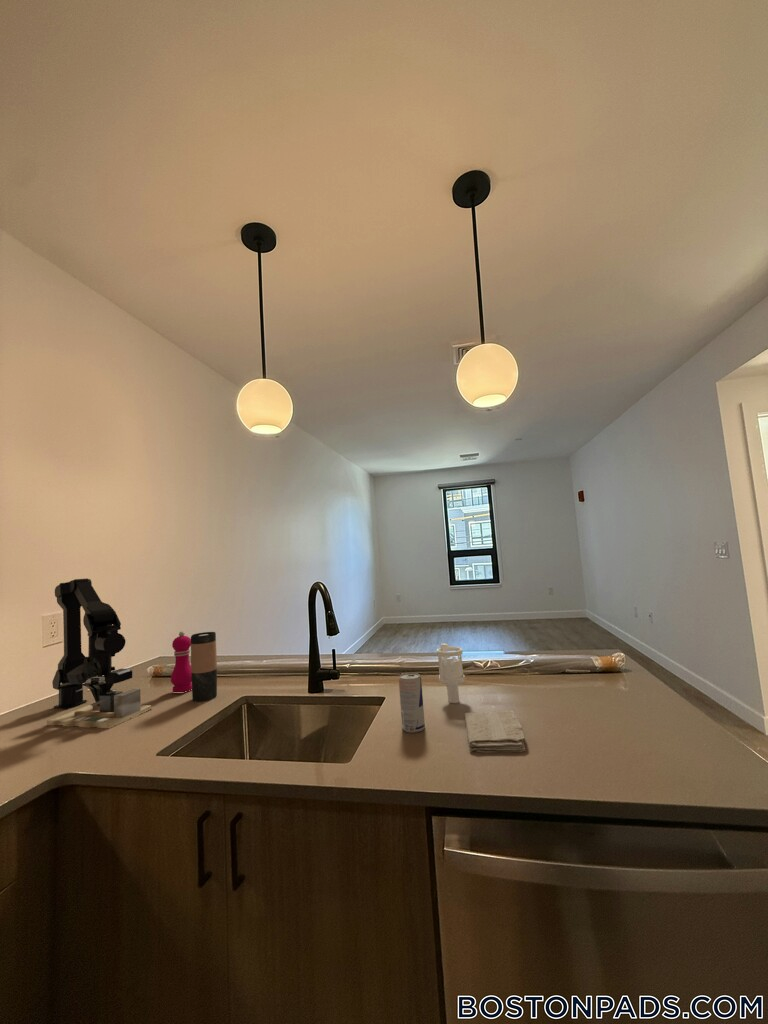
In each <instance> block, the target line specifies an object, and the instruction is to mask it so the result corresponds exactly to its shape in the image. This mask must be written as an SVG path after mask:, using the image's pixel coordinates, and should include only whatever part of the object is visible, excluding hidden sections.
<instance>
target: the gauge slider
mask: <svg viewBox="0 0 768 1024" xmlns="http://www.w3.org/2000/svg"><path fill="white" fill-rule="evenodd" d="M123 692H124V691H121V690H120V691H119V690H118V691H117V689H114V688H113V689H110V690H109V691H106V694H103V695H100V701H98V702H93V703H91V704H89V705H90V706H94V705H97V704H100V712H114V695H117V694H120V693H123Z"/></svg>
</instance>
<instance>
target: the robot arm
mask: <svg viewBox="0 0 768 1024" xmlns="http://www.w3.org/2000/svg"><path fill="white" fill-rule="evenodd" d="M96 591H97V590H95V589H94V586H93V585H92V579H91V578H75V579H72V580H70V581H67V582H60V583H59V584H57V586H55V589H54V596H55V598H56V603H57V604H58V606H59V607H60V608H61V609H62V611H63V615H62V616H63V626H62V627H63V656H62V657H61V659H60V660H59V662H58V664H57V670H56V671H55V673H54V676H53V679H52V688H53V690H56V691H58V704H57V705H54V706H53V708H54V709H70V708H73V707H76V706H78V705H81V704H84V703H86V702H88V700H87V699H84V687H86V688H87V689H89V691H90V692H91V694H92V696H93V699H94V700H95V701H94V703H96V702H98V701H100V695H103V694H106V691H109V690H112V688H113V686H114V684H118V683H122V682H125V681H127V680H130V679H133V670H132V669H131V668H119V669H116V666H112V665H113V664H112V660H113V659H112V658H113V657H116V654H118V653H120V652H121V651H123V649H124V647H125V646H126V639H125V638H126V637H124V635H123V634H121V633H119V631H120V630H121V627H122V626H121V625H122V623H121V621H120V619H119V617H118V614H117V612H116V611H115V609H114V608H113V607H112V606H111V605H110V604H109V603H106V602H103V601H102V600H101V598H100V597H99V595H98V593H97V592H96ZM81 608H82V609H83V610H84V615H83V619H81V614H82V613H81ZM81 622H83V626H84V627H85V629H86V631H87V636H88V652H87V653H88V656H85V654H83V652H82V623H81ZM97 706H99V707H100V704H97Z"/></svg>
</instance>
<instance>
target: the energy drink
mask: <svg viewBox="0 0 768 1024" xmlns="http://www.w3.org/2000/svg"><path fill="white" fill-rule="evenodd" d="M422 684H423V683H422V677H421V675H420V674H419V673H417V672H407V673H402V674H400V675H399V678H398V688H399V699H400V700H399V703H400V716H401V727H402V730H403V731H404V732H406V733H409V734H411V733H412V734H416V733H419V732H422V731H423V730H424V729H425V728H426V726H425V725H426V724H425V723H426V722H425V713H424V712H425V711H424V709H425V708H424V698H423V686H422Z"/></svg>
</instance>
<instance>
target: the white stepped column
mask: <svg viewBox="0 0 768 1024" xmlns="http://www.w3.org/2000/svg"><path fill="white" fill-rule="evenodd" d="M436 655H437V658H438V659H437V661H438V671H439V672H438V674H439V676H438V682H439V683H440V684H444V685H446V690H447V691H446V692H447V702H448V703H449V704H458V703H459V702H460V695H459V694H460V693H459V684H462V683H464V682H466V678H465V677H466V676H465V674H464V669H463V658H462V655H463V648H462V647H460V646H450V645H449V644H448V643H440V647H439V648H436ZM456 656H457V657H456ZM451 657H452V658H451Z"/></svg>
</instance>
